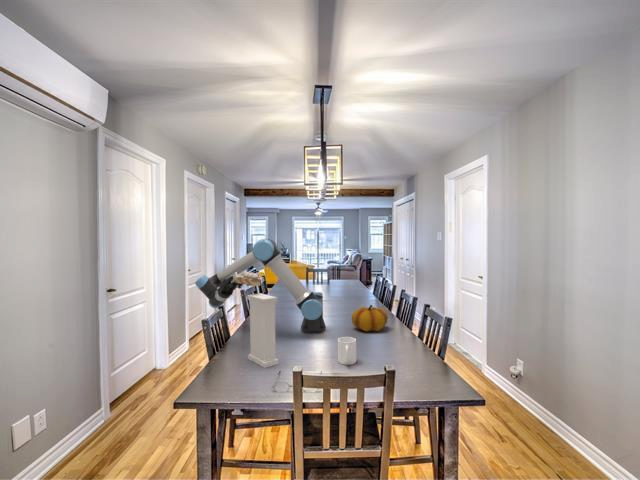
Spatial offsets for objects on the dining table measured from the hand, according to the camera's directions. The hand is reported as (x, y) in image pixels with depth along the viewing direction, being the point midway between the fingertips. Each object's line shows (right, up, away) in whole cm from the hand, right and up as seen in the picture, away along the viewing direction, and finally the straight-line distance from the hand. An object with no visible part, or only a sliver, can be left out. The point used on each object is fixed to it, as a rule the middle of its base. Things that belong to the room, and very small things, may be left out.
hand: (240, 274), depth 175 cm
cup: (+52, -38, -19) cm, 67 cm away
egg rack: (+3, -4, -3) cm, 6 cm away
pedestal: (+13, -39, -15) cm, 44 cm away
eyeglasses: (+31, -40, -37) cm, 63 cm away
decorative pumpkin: (+70, -37, +36) cm, 87 cm away
